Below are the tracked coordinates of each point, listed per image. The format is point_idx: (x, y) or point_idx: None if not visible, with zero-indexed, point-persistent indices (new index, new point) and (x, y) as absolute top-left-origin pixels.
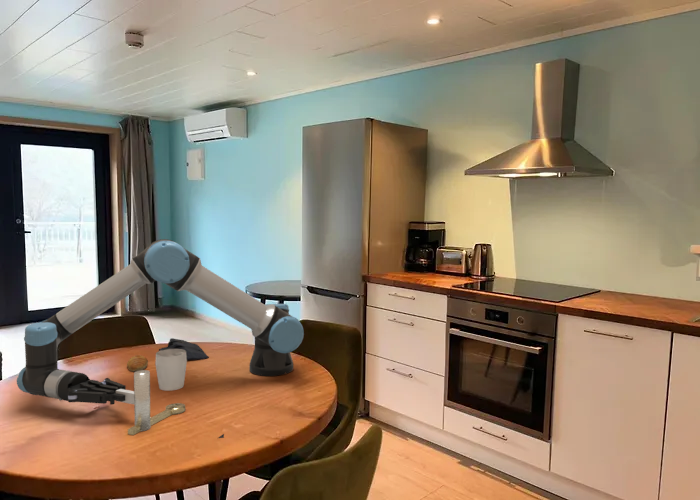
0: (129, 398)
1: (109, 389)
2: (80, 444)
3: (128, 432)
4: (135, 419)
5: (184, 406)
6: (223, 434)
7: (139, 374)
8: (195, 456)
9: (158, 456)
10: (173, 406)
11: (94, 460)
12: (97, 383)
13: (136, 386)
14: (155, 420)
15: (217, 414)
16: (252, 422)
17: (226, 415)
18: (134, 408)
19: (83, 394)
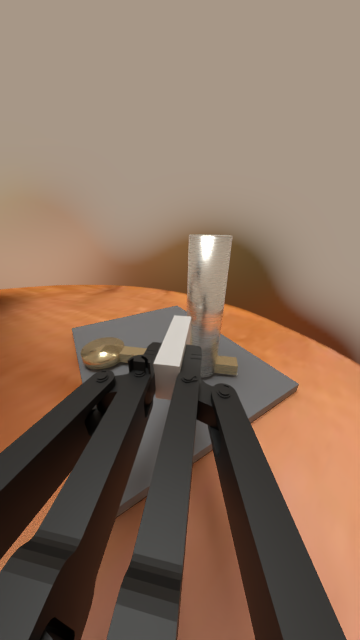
0: (188, 343)
1: (131, 431)
2: (333, 485)
3: (236, 370)
4: (217, 351)
5: (104, 338)
6: (177, 306)
7: (228, 235)
8: (226, 314)
9: (249, 333)
10: (102, 350)
11: (331, 391)
12: (38, 606)
13: (227, 271)
14: None
15: None
16: (132, 304)
17: None
18: (217, 333)
19: (309, 574)
